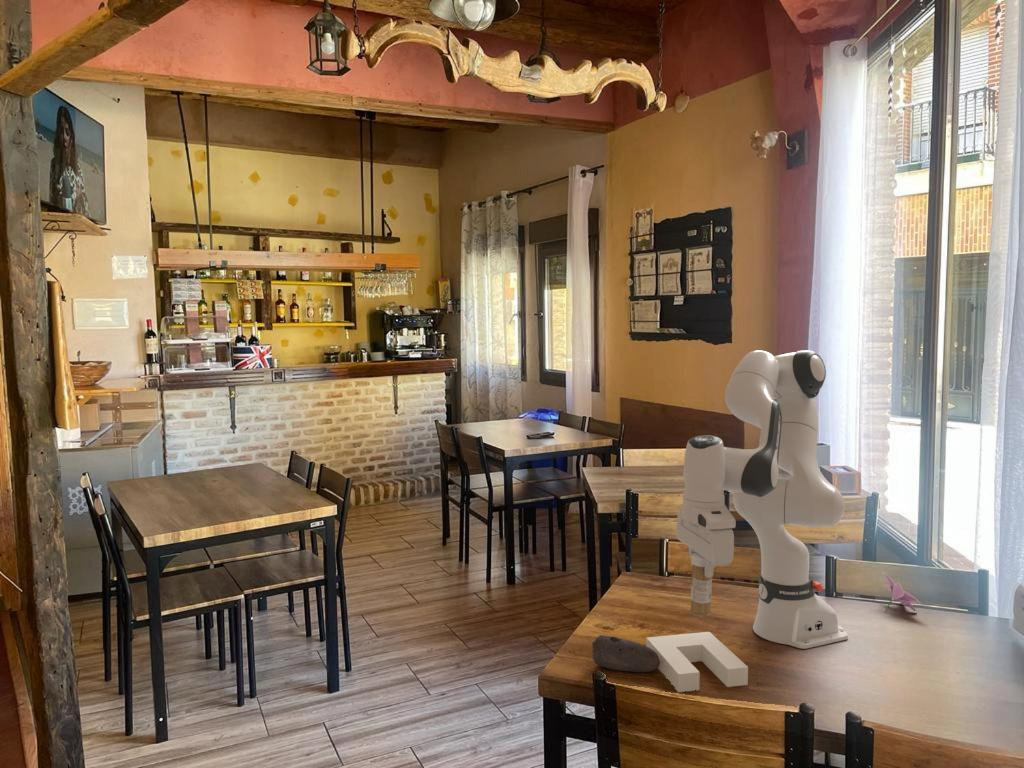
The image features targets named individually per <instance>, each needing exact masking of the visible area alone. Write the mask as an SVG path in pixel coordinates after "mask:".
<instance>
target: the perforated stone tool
mask: <svg viewBox="0 0 1024 768" xmlns="http://www.w3.org/2000/svg"><path fill="white" fill-rule="evenodd" d="M591 653H592V660H593V662H594V664H596V665H597V666H598V667H602V668H606V669H609V670H613V671H621V672H633V673H649V672H653V671H655V670H657V669H658V666H659V664H660V660H659V657H658V655H657V653H656V652H655V651H653V650H652V649H651V648H649V647H647V646H646V644H645V645H644V644H642V643H639V642H638V641H633V640H629V639H625V638H620V637H616V636H612V635H611V636H610V635H603V634H602V635H601V634H600V635H599V636H597V637H596V638H595V640H594V641H593V642H592V651H591Z"/></svg>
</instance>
